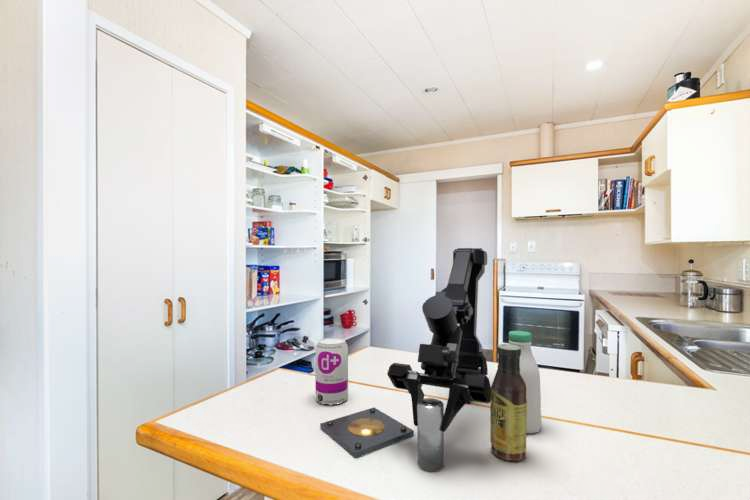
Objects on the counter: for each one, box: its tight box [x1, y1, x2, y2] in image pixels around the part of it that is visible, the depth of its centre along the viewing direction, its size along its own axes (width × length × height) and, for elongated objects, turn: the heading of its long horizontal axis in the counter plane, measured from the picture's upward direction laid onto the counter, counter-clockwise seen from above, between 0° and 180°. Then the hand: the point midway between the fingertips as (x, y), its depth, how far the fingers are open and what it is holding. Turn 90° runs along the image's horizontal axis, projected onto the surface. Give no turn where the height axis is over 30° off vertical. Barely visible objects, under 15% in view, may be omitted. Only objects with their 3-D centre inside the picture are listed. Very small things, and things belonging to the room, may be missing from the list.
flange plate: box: [319, 407, 415, 459], centre depth 74 cm, size 14×14×1 cm
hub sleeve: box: [416, 397, 445, 473], centre depth 62 cm, size 5×5×11 cm
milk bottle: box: [508, 330, 542, 434], centre depth 76 cm, size 8×8×20 cm
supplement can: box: [315, 337, 349, 405], centre depth 91 cm, size 8×8×15 cm
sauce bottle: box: [489, 343, 527, 462], centre depth 66 cm, size 6×6×20 cm
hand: (428, 428), depth 62 cm, fingers closed on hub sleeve, 5 cm apart
